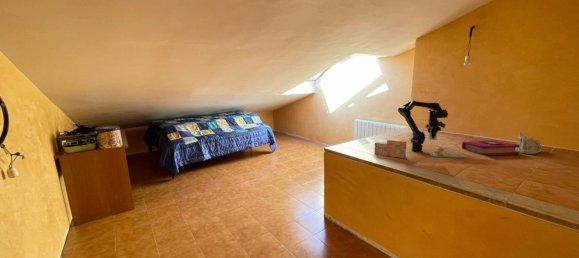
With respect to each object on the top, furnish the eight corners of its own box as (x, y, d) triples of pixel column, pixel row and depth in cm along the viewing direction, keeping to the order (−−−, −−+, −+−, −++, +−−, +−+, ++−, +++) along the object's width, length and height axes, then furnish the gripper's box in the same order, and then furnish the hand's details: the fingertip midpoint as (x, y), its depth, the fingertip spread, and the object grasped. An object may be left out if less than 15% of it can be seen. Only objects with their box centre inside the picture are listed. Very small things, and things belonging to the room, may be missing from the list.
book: (461, 149, 197) (461, 140, 195) (494, 148, 198) (495, 139, 197) (482, 156, 176) (483, 145, 175) (519, 154, 177) (521, 144, 176)
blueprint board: (432, 157, 175) (432, 155, 175) (427, 153, 187) (428, 152, 187) (464, 158, 170) (464, 157, 170) (457, 154, 181) (457, 153, 181)
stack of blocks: (374, 154, 187) (374, 138, 185) (376, 152, 192) (376, 137, 190) (404, 158, 175) (405, 141, 173) (406, 156, 180) (406, 139, 178)
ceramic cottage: (521, 153, 179) (523, 133, 177) (511, 148, 194) (513, 130, 192) (549, 154, 173) (551, 134, 171) (536, 149, 188) (539, 130, 186)
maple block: (436, 154, 178) (437, 148, 177) (434, 153, 182) (434, 146, 182) (444, 155, 176) (444, 148, 175) (442, 153, 181) (442, 147, 180)
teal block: (429, 139, 192) (430, 133, 191) (427, 138, 197) (428, 132, 196) (436, 139, 191) (437, 133, 190) (434, 138, 195) (435, 132, 195)
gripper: (449, 119, 180) (447, 140, 182) (441, 117, 198) (439, 136, 200) (432, 119, 183) (431, 140, 185) (425, 117, 201) (424, 135, 203)
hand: (432, 138), depth 193 cm, fingers closed on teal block, 5 cm apart
